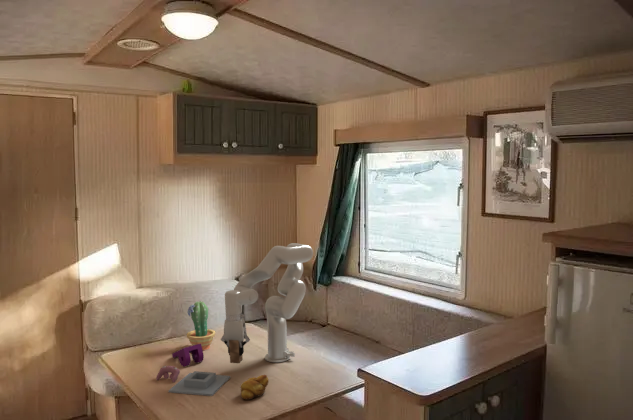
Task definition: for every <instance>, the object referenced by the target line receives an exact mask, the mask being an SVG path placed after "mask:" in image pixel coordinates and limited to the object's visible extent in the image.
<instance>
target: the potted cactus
mask: <svg viewBox="0 0 633 420" xmlns="http://www.w3.org/2000/svg"><path fill="white" fill-rule="evenodd" d="M187 315H188V316H189V317H190V318H191V320H192V323H193V325H194V326H193V327H194V330H191V331H188V332H186V338H187V339H188V341H189V343H190V344H191V346H193V345H197V344H201V346H202V350H203V351H207V350H209V349H210V348H211V344H212V342H213V339H214V337H215V335H216V331H215V330H214V329H208V318H209V307H208V306H207V304H206V303H205V302H204V301H201V300H199V301H195V302H194V303H193V304H191V305H189V307H188V309H187Z"/></svg>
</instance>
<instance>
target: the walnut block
mask: <svg viewBox="0 0 633 420" xmlns="http://www.w3.org/2000/svg"><path fill="white" fill-rule="evenodd" d="M239 348H240V345H239V341H238V340H229V351H230V355H229V363H230V364H240V363H241V362H242V361H244V360H243V359H244V358H243V354H242V355H241V356H240V355H239Z"/></svg>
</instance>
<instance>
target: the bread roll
mask: <svg viewBox="0 0 633 420" xmlns="http://www.w3.org/2000/svg"><path fill="white" fill-rule="evenodd" d="M268 385H269V378H268V375H266V374H261V375H258V376H257V377H254V376H252V377H249V378H248V379H246V381H243V382H241V384H240V396H241V398H242V399H243V400H252V399H253V398H256V397H260V396H262V395H263V394H265V392H266V388H267V386H268Z"/></svg>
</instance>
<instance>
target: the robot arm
mask: <svg viewBox="0 0 633 420" xmlns="http://www.w3.org/2000/svg"><path fill="white" fill-rule="evenodd" d="M313 257H314V250H313V248H312V247H311V246H310V245H307V244H302V243H295V242H292V243H289V244H287V245H286V246H284V245H275V246H273V247H272V248H270V250H269V251H268V252H267V254H266V255H265V256H264V258H263V259H262V261H261V262H260V263H259V264H258V265H257V267H255V268H254V269H252V270H251V271H249V272H248V273H246V274H245V275H244V276H242V278H240V280H239V281H238V282H237V284H236V285H235V287H234V289H232V290H227V291H226V292H225V293H224V305H225V308H224V309H225V320H224V323H223V335H222V337H221V338H220V341H221V342H223V344H225V345H226V348H227V351H228V352H227V353H228V356H230V351H229V340H238V341H239V345H240V348H239V355H240V356H241V355H242V356H243V354H244V352H245V351H244V350H245V349H244V348H245V345H246V344H247V343H249V342H250V341H251V339H250V337H249V336H248V335H247V334H248V333H247V327H246V321H245V318H246V315H245V314H243V308H242V306H246V305H252V304H255V303H257V301H258V300H259V293H258V291H257V290H255V289H254V288H252V287H253V286H254V285H255V286H256V284H257V283H260V282H263V281H267V280H269V279H271V278H272V277H273V276H274V274H275V273H276V271H278V269H279V268H280V266H281V265H287V268H286V269H285V272H284V273H283V275H282V277H281V279H280V281H279V283H278V285H277V292H278V293H279V294H280V296H279V295H272V296H269V297H267V299H266V302H265V305H264V307H265V313H266V321H267V322H266V323H267V324H266V325H267V354H266V355H265V356H264V360H265V361H267V362H269V363H284V362H287V361H289V360H290V359H291V358H293V357H295V356H296V353H295V352H294V351H293V350H292V351H290V350H289V348H287V346H288V345H287V343H288V341H287V340H288V338H287V334H288V333H287V331H288V329H287V320H290V319H292V318H293V317H294V316H295V314H296V313H297V312H298V309H299V307H300V305H301V304H302V301H303V300H304V298H305V296H306V291H307V288H306V287H307V286H306V284H305V283H304V281H302V280H301V278H302V275H303V273H304V264H303V263H307V262H310V261H311V260H312V259H313ZM283 296H284V297H283Z"/></svg>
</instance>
